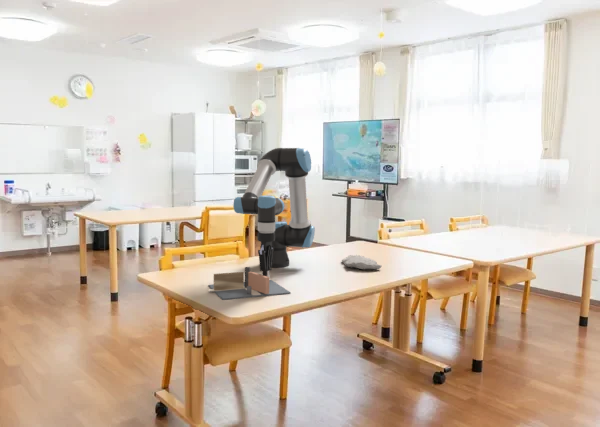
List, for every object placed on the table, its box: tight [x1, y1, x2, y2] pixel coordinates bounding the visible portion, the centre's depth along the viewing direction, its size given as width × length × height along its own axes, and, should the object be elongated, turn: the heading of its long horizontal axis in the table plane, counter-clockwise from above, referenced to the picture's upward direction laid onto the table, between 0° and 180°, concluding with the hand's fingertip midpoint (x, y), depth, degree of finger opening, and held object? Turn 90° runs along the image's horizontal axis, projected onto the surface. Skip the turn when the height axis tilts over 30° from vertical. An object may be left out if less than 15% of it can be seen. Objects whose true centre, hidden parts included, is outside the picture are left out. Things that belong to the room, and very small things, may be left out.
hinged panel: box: [248, 271, 270, 294], centre depth 225 cm, size 2×13×7 cm, turn 40°
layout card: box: [208, 279, 291, 301], centre depth 230 cm, size 24×32×4 cm
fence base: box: [213, 266, 251, 290], centre depth 229 cm, size 2×16×9 cm, turn 113°
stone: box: [341, 254, 382, 271], centre depth 285 cm, size 18×5×30 cm
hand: (265, 285), depth 227 cm, fingers closed
